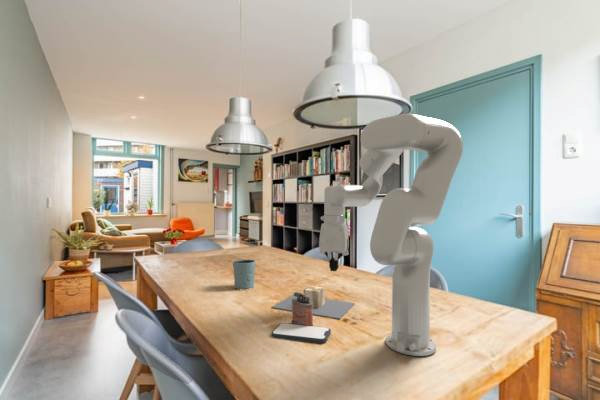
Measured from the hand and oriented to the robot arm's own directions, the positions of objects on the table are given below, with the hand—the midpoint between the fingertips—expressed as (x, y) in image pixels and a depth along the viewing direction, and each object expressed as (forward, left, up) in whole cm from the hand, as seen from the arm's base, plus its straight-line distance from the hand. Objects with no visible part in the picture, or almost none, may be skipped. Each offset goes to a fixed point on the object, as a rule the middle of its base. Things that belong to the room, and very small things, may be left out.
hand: (333, 270), depth 113 cm
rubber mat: (0, +8, -14) cm, 16 cm away
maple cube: (0, +5, -10) cm, 11 cm away
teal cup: (+10, +47, -14) cm, 50 cm away
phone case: (-25, +1, -15) cm, 29 cm away
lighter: (-19, +4, -14) cm, 24 cm away
